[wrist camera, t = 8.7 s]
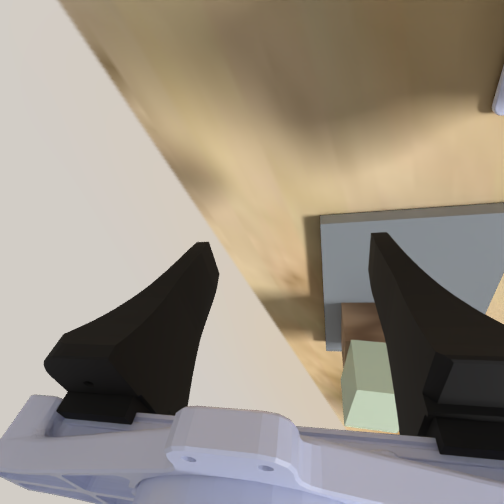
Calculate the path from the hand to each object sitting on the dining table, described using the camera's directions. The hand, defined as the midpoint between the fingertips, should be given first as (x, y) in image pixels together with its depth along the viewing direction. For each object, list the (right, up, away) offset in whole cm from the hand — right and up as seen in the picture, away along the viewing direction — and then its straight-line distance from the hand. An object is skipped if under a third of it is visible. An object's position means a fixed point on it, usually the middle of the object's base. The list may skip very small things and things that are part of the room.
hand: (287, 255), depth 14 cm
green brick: (+8, -9, +11) cm, 17 cm away
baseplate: (+11, -3, +13) cm, 17 cm away
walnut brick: (+9, -7, +15) cm, 18 cm away
